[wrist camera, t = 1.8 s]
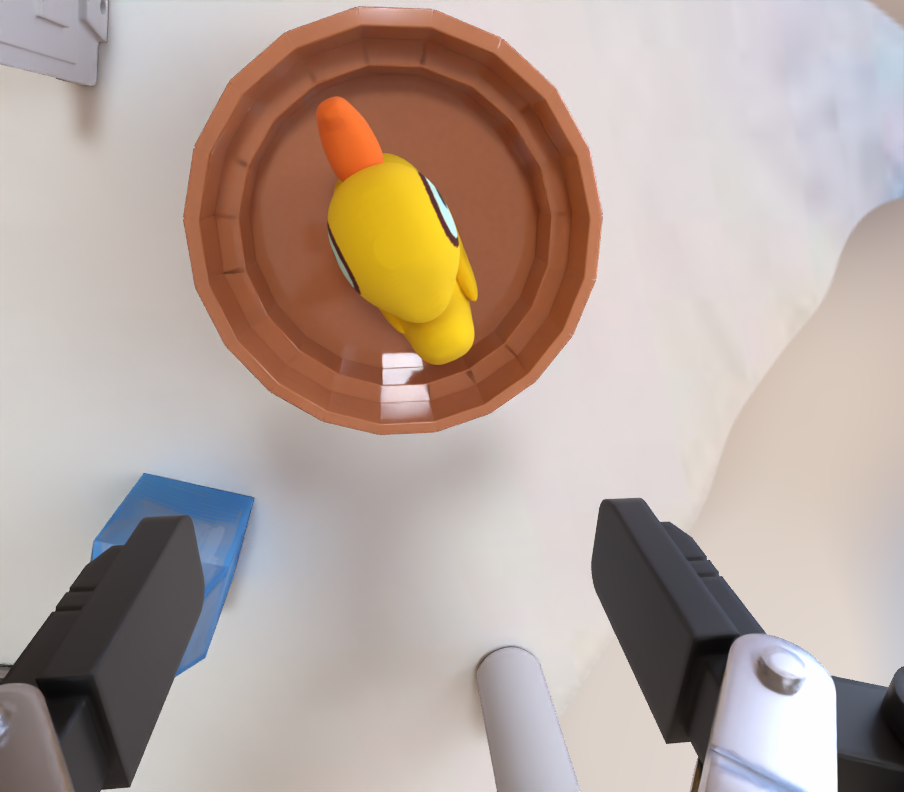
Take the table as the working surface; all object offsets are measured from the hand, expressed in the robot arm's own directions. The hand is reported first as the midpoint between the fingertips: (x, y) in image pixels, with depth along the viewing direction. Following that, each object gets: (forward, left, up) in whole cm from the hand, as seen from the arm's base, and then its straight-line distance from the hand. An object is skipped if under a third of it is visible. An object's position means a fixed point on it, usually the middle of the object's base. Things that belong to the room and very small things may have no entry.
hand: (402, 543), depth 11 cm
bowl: (+1, +3, -21) cm, 21 cm away
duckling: (+1, +3, -20) cm, 21 cm away
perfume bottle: (-12, -14, -21) cm, 28 cm away
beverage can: (+8, -28, -21) cm, 35 cm away
